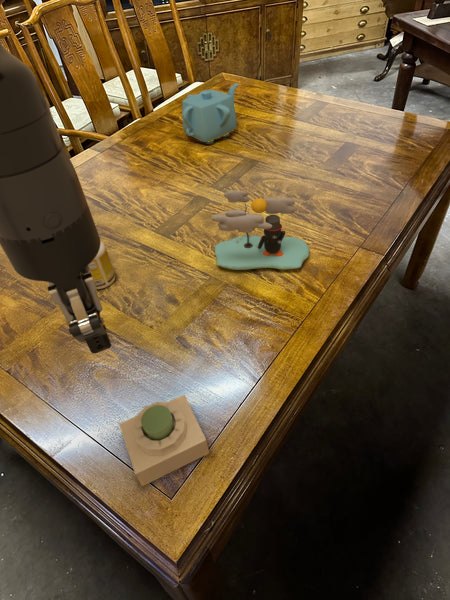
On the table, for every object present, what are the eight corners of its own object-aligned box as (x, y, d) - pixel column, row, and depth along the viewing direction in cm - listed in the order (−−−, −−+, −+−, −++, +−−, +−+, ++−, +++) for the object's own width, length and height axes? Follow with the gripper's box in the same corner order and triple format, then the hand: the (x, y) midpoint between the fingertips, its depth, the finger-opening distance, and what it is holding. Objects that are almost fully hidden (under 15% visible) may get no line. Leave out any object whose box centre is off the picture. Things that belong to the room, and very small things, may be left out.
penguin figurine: (309, 243, 90) (314, 179, 79) (308, 276, 83) (313, 210, 72) (218, 241, 93) (211, 179, 83) (210, 272, 86) (200, 209, 75)
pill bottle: (107, 266, 91) (91, 224, 83) (121, 280, 87) (106, 236, 79) (81, 280, 88) (62, 237, 80) (95, 294, 84) (76, 251, 77)
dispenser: (142, 486, 56) (131, 467, 52) (126, 437, 62) (115, 416, 57) (209, 453, 59) (204, 432, 54) (188, 408, 64) (182, 386, 60)
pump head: (149, 445, 54) (146, 437, 53) (140, 420, 57) (137, 412, 56) (178, 431, 55) (175, 424, 54) (168, 408, 58) (165, 400, 57)
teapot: (231, 147, 126) (228, 101, 117) (179, 147, 129) (172, 102, 120) (241, 122, 138) (239, 79, 129) (193, 123, 142) (188, 80, 132)
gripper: (-14, 186, 37) (57, 319, 49) (-8, 271, 28) (77, 408, 40) (71, 164, 39) (119, 297, 51) (102, 236, 30) (151, 377, 42)
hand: (101, 346), depth 45 cm, fingers closed
